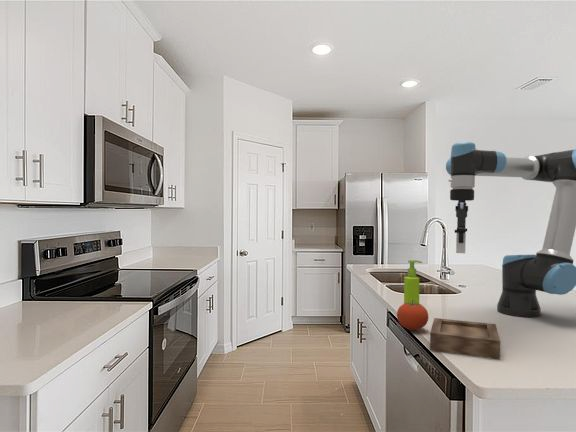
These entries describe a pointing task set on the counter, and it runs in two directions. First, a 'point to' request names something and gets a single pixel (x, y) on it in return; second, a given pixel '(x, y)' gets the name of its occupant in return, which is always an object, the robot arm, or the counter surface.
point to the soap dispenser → (411, 284)
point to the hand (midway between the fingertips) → (460, 251)
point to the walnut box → (465, 338)
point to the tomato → (412, 316)
